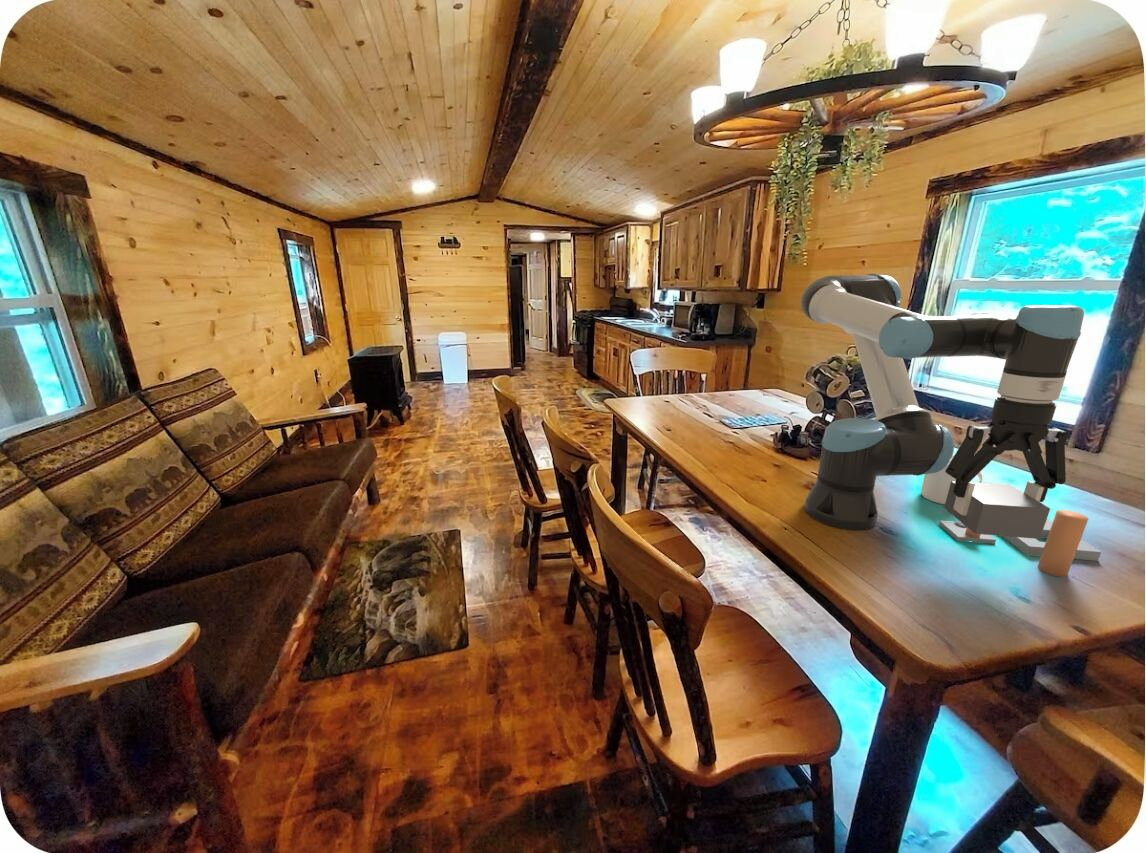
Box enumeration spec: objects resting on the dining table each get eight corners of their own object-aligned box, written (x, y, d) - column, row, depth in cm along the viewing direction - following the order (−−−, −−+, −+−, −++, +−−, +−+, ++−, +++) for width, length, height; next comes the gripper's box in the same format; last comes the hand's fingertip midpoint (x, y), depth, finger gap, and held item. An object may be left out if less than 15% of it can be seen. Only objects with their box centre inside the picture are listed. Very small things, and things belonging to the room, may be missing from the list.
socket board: (1026, 554, 90) (1029, 546, 90) (965, 508, 109) (967, 501, 108) (1097, 560, 88) (1101, 551, 87) (1022, 512, 106) (1025, 504, 106)
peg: (1048, 575, 84) (1068, 519, 80) (1032, 563, 88) (1050, 509, 84) (1073, 577, 83) (1095, 521, 79) (1056, 565, 87) (1075, 510, 83)
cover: (975, 533, 80) (983, 503, 78) (943, 508, 89) (951, 480, 87) (1039, 539, 78) (1050, 508, 76) (1001, 512, 87) (1009, 484, 85)
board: (957, 540, 96) (961, 524, 94) (938, 524, 102) (942, 508, 101) (994, 543, 94) (999, 527, 93) (973, 526, 101) (978, 511, 99)
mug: (986, 509, 108) (998, 469, 105) (929, 504, 111) (939, 465, 108) (966, 493, 116) (977, 455, 113) (914, 489, 119) (922, 452, 116)
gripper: (964, 402, 74) (935, 519, 81) (1127, 405, 70) (1082, 529, 77) (938, 392, 81) (913, 500, 88) (1085, 394, 77) (1047, 509, 84)
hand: (992, 514), depth 82 cm, fingers closed on cover, 10 cm apart
